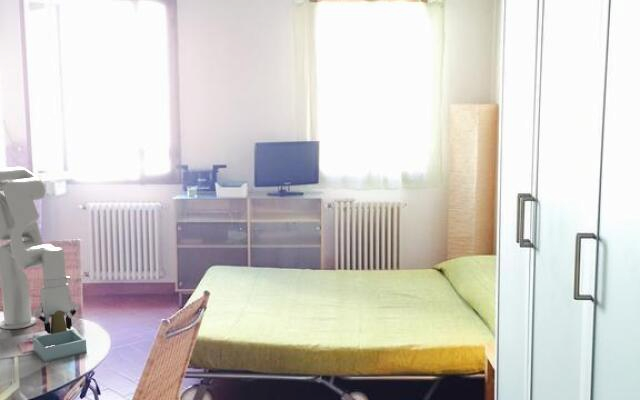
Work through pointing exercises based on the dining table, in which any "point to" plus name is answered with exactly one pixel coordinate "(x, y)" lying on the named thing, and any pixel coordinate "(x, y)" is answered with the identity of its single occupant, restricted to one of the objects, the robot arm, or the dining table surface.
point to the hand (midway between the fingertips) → (58, 330)
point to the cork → (58, 322)
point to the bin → (59, 345)
